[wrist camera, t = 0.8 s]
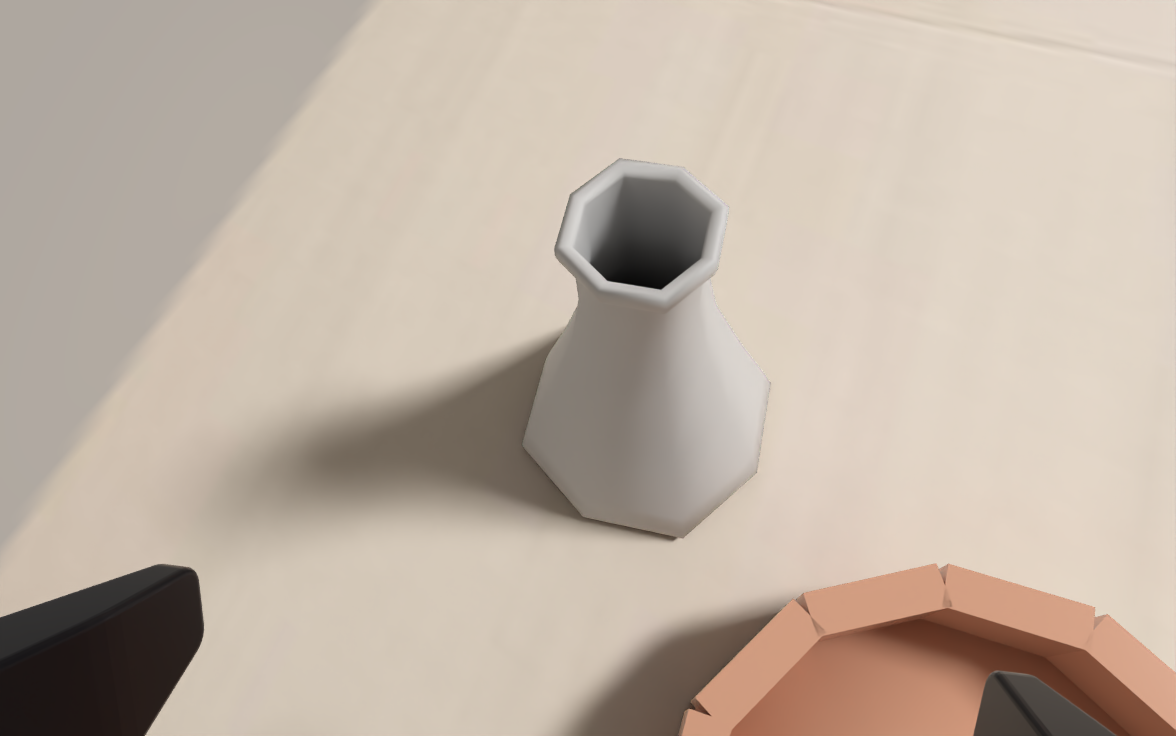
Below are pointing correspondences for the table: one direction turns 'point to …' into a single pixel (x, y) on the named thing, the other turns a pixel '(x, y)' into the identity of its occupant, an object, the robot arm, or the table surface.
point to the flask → (646, 358)
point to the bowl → (928, 661)
